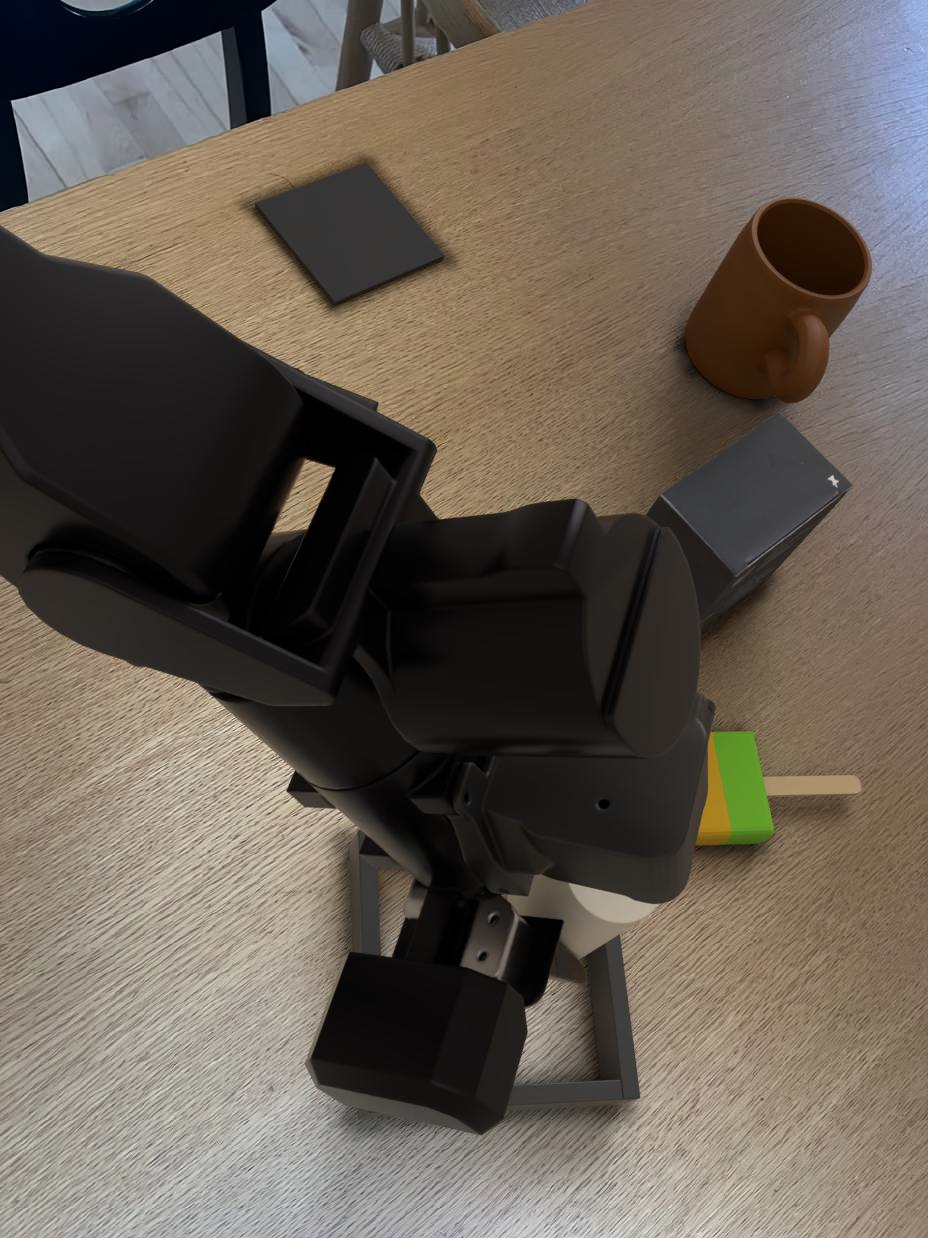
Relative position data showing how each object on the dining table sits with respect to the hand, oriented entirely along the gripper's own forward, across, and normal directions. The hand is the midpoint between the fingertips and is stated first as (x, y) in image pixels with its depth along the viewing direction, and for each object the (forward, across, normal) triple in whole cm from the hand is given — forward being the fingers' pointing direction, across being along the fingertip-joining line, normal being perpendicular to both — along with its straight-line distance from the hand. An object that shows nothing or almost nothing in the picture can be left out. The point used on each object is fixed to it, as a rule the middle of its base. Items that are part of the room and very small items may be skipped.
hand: (588, 929), depth 47 cm
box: (+10, +24, +5) cm, 26 cm away
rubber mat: (-8, +38, +23) cm, 45 cm away
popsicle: (+13, +13, +2) cm, 18 cm away
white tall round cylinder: (+4, 0, +6) cm, 7 cm away
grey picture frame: (+6, 0, +8) cm, 11 cm away
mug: (+10, +39, +5) cm, 41 cm away
